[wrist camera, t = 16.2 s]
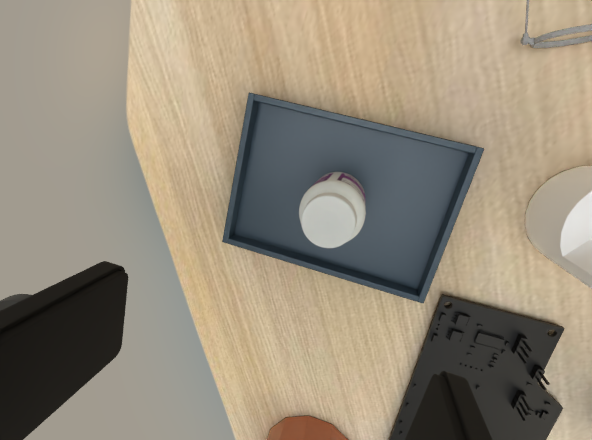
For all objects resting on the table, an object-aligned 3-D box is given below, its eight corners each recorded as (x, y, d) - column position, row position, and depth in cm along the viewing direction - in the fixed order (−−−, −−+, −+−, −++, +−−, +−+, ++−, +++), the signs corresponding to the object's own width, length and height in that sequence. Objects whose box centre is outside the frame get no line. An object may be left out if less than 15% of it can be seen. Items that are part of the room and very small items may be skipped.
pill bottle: (315, 226, 34) (295, 259, 25) (308, 174, 33) (285, 190, 24) (368, 221, 33) (368, 255, 24) (363, 168, 32) (361, 182, 23)
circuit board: (440, 292, 34) (447, 307, 31) (595, 333, 32) (617, 353, 29) (376, 470, 41) (377, 496, 38) (498, 513, 39) (509, 544, 36)
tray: (229, 236, 37) (222, 242, 35) (255, 94, 33) (248, 92, 31) (420, 293, 34) (423, 303, 32) (477, 147, 30) (484, 148, 28)
